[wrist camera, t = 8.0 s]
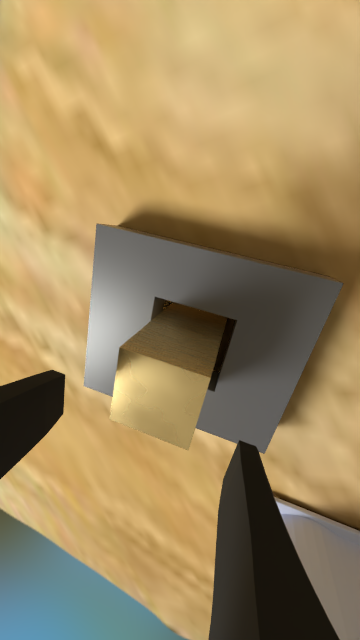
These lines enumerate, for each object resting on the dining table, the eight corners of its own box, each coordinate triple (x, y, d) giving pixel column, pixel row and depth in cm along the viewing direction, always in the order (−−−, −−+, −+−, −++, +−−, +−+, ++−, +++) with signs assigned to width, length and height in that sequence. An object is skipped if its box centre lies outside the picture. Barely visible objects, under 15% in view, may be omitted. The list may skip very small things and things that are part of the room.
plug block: (227, 317, 17) (210, 378, 10) (212, 366, 18) (188, 450, 11) (173, 302, 18) (119, 347, 10) (163, 349, 19) (109, 419, 12)
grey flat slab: (328, 276, 15) (343, 283, 12) (262, 427, 19) (264, 453, 17) (117, 225, 17) (96, 223, 15) (101, 370, 21) (83, 385, 19)
